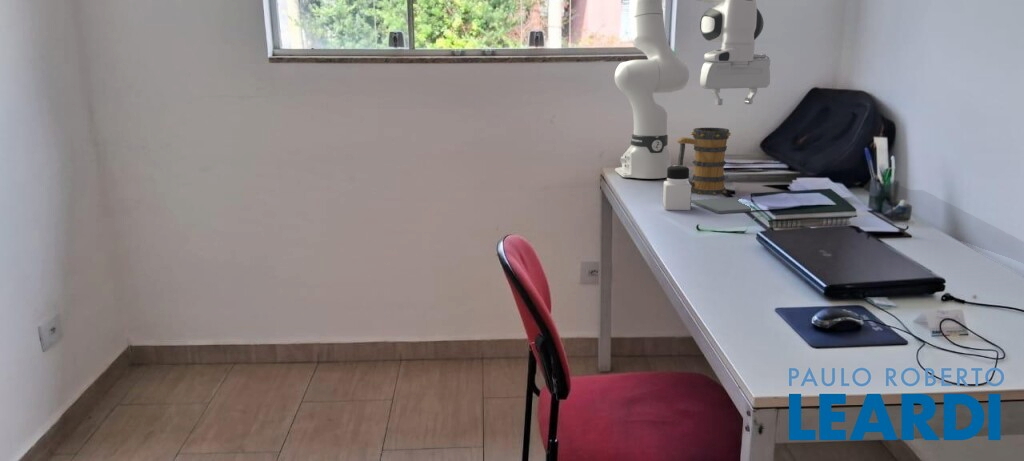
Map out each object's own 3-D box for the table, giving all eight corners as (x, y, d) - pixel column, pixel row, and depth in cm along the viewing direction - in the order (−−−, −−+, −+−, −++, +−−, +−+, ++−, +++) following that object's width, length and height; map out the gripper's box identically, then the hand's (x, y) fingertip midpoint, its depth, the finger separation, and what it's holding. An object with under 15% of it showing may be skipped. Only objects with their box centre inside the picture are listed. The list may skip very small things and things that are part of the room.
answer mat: (690, 202, 224) (690, 200, 223) (738, 199, 228) (739, 196, 227) (718, 213, 209) (718, 211, 208) (769, 210, 212) (769, 207, 212)
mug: (735, 196, 232) (739, 131, 227) (681, 198, 230) (684, 132, 225) (719, 189, 245) (723, 126, 240) (668, 190, 243) (670, 127, 238)
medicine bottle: (690, 210, 213) (692, 168, 210) (665, 210, 214) (666, 168, 211) (687, 205, 220) (689, 164, 217) (662, 205, 221) (664, 164, 218)
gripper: (764, 53, 217) (760, 102, 220) (699, 54, 212) (695, 104, 215) (776, 54, 211) (772, 104, 214) (710, 55, 206) (706, 106, 209)
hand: (733, 104), depth 215 cm, fingers open, 8 cm apart
